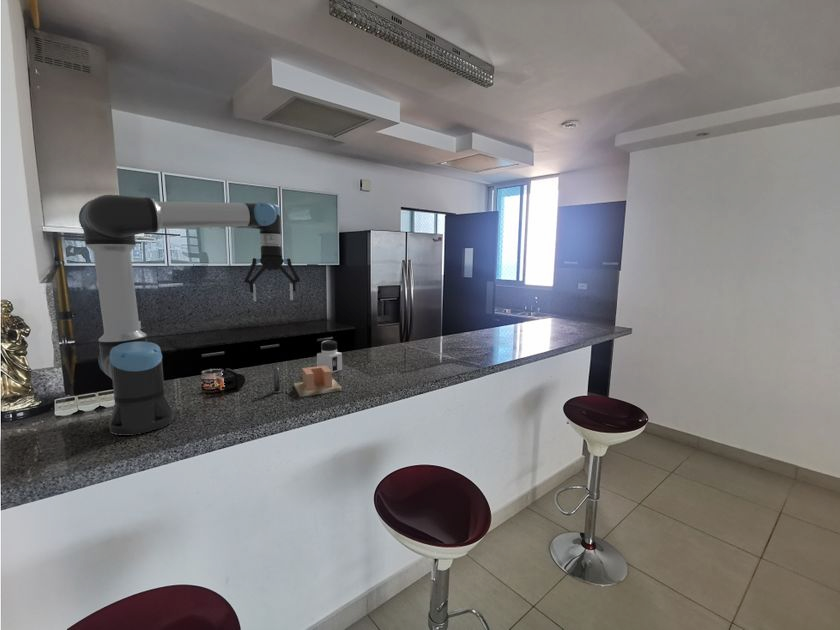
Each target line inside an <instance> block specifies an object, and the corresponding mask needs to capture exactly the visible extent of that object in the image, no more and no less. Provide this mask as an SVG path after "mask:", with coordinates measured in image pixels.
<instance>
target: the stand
mask: <svg viewBox="0 0 840 630" xmlns="http://www.w3.org/2000/svg"><path fill="white" fill-rule="evenodd" d="M272 373H273V375H272V376H273V390H272V393H273V394H276V395H277V394H281V392H282V389H281V383H280V368H279V367H273V368H272Z"/></svg>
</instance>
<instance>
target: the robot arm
mask: <svg viewBox="0 0 840 630" xmlns="http://www.w3.org/2000/svg"><path fill="white" fill-rule="evenodd" d="M78 213H79V214H78V222H79V224H80V227H81V228H82V230H83V237H84V243H85V244H84V245H85V247H87V248H88V249H90V250H91V251H92V252H93V260H94V266H95V267H94V268H95V274H96V281H97V287H98V288H97V289H98V296H99V303H100V305H99V306H100V311H101V318H102V327H103V334H102V335H101V336H100V337H99V338H98V345H99V347H98V349H99V355H98V360H97V361H98V362H97V363H98V366H99V368H100V370H101V371H102V373H104V375H106V376H108V377H109V378H110V379H111V380H112V388H113V389H112V390H113V398H114V406H113V410H112V412H111V416H110V419H109V423H108V428H109V429H110V430H109V432H110V431H111V432H113V433H116V434H122V435H123V434H138V433H144V434H146V433H145V432H149V431H152V430H156V429H158V428H161V427H163V426H165V425H167V424H169V423H170V422H172V421H173V419H174V420H175V415H174V414H175V412H174V410H173V408H172V407H171V404H170V402H169V400H168V399H167V396H166V393H165V384H164V383H165V379H164V378H165V377H164V369H163V367H164V366H163V354H162V350H161V347H160V346H159V344H157V343H154V342H151V341H148V337H147V336H148V335H147V333H145V332H143V331H142V330H141V328H140V321H139V314H138V313H139V312H138V303H137V295H136V287H135V279H134V278H135V277H134V270H133V262H132V261H133V260H132V254H131V252H132V251H133V249H135V247H137V244H136V236H137V235H142V234H149V233H150V234H153V233H155V234H156V233H158V232H159V231H160V230H162V229H163V230H164V229H165V230H166V229H169V230H170V229H199V228H200V229H201V228H204V229H205V228H230V227H231V228H236V229H254V230H259V240H260V241H259V242H260V245H261V246H260V258H255V257H253V258H252V260H251V265H250V267H249V270H248V271H247V274H246V275H245V277H244V279H243V281H244V283H246V284H248V285H249V292H250V293H252V297H253V302H254V303H255V302H257V295H256V294H257V292H256V290H257V289H256V284H255V282H256V281H257V279H259V277H260V276H261V275H262V274H263V273H264V271H265V270H267V271H271V270H274V271H277V270H279V271H280V272H281V273H282V274H283V275H284V276H285V277H286V278H287V279H288V281H290V282H291V283H290V282H289V300H290V301H294V292H296V291H297V290H296V284H297V283H299V282H301V279H300V277H299V276H298V273H297V272H296V270H295V268H294V266H293V265H292V261H291V258H283V255H282V254H283V252H282V251H283V250H282V249H283V248H282V246H281V245H282V231H281V230H282V229H281V210H280V206H279V205H278V204H275V203H269V202H265V201H264V202H262V201H261V202H256V203H253V202H249V203H248V202H212V201H211V202H209V201H208V202H203V201H201V202H199V201H196V202H195V201H156V200H154V199H153V198H152V197H141V196H140V197H139V196H129V195H128V196H127V195H121V194H103V195H100V196H98V197H95V198H94V199H91V200H89V201H87V202H85V203H84V204H83V206H82V207H81V208H80V211H79V212H78ZM259 262H260V264H261V265H262V266H261V267H260V268H259V270H258V271H257V272H256V273H255V274H254V276H253V277H252V278H251V276H252V274H253V272H254V269H255V268H256V265H258V264H259ZM283 263H285V264H286V265H287V267H288V269H289V271H290V272H291V274H292V275H290V274H289V273H288V272H287V270H286V269H284V267H283V266H282V265H283ZM250 278H251V279H250ZM173 422H174V421H173ZM173 422H172V423H173ZM169 425H170V424H169ZM163 428H164V427H163ZM161 429H162V428H161ZM158 430H159V429H158ZM156 431H157V430H156ZM152 432H153V431H152ZM149 433H150V432H149Z"/></svg>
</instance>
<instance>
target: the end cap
mask: <svg viewBox="0 0 840 630" xmlns="http://www.w3.org/2000/svg"><path fill="white" fill-rule="evenodd" d="M222 373H223V375H222V376H220V377H221V378H222V379H223V378H224V383H225V384H224V385H225V387H222V389H224V390H222V391H223V392H222V391H221V392H222V393H223V394H230V393H235V392H238V391H239V390H241V389H242V388H243V387H244V385H245V383H246V377H245V375H244V374H242V373H241V372H238V371H236V370H234V369H231V368H225V370H222Z"/></svg>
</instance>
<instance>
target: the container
mask: <svg viewBox="0 0 840 630" xmlns="http://www.w3.org/2000/svg"><path fill="white" fill-rule="evenodd" d="M317 366H327V367H328V368H329V369H330V370H331V371H332V374H333V373H336V372H337V373H338V372H340V371H342V370H343V353H342V352H339V351H338V342H337V341H335V340H330V339H329V340H324V341H322V342H321V352H318V353H317V354H316V367H317Z"/></svg>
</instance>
